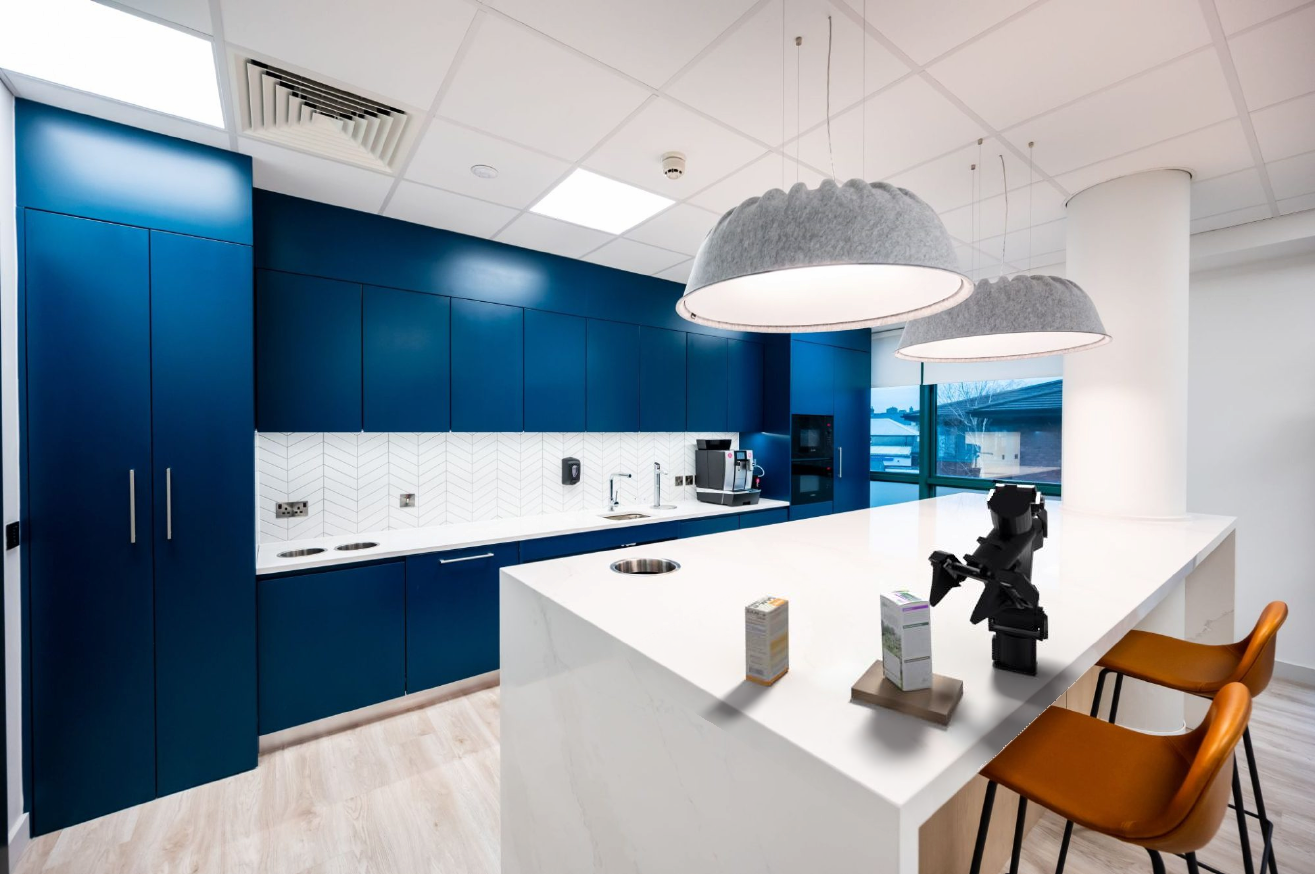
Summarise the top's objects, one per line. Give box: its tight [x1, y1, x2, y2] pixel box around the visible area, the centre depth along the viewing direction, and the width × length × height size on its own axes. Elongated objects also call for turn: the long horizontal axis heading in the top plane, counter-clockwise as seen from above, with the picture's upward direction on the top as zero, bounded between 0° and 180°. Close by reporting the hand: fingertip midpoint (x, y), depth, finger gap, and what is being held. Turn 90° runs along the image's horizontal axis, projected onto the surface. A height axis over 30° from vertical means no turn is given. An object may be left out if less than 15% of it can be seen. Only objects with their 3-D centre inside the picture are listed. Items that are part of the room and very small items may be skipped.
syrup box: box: [879, 589, 933, 691], centre depth 90 cm, size 6×6×14 cm
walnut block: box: [850, 659, 964, 727], centre depth 90 cm, size 14×14×2 cm
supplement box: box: [744, 595, 790, 687], centre depth 97 cm, size 8×5×13 cm, turn 141°
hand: (950, 613), depth 92 cm, fingers open, 9 cm apart
